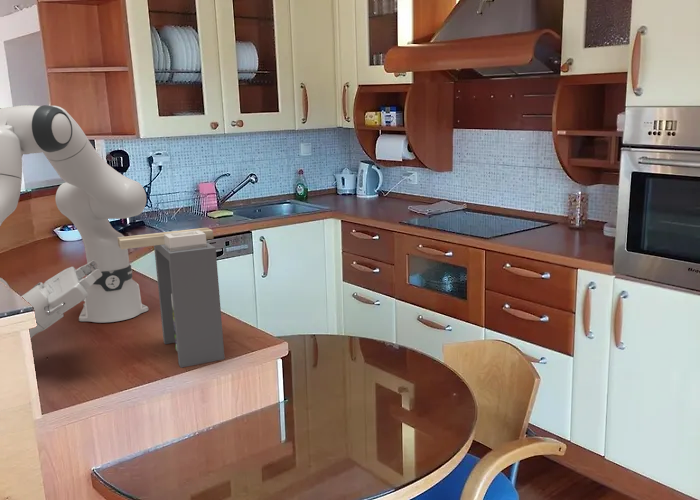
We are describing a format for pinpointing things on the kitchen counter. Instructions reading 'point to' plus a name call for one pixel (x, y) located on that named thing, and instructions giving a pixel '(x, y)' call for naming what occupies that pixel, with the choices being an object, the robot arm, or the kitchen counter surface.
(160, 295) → the shelf
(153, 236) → the slat
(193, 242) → the ceramic dish
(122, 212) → the robot arm
